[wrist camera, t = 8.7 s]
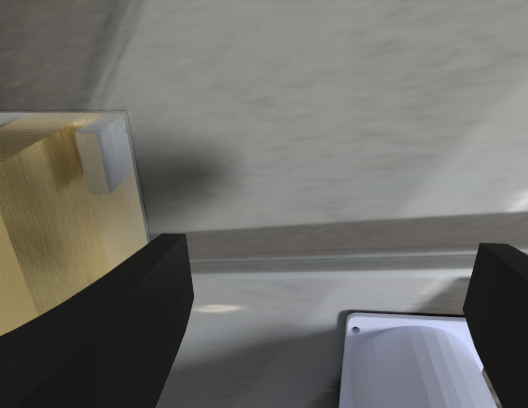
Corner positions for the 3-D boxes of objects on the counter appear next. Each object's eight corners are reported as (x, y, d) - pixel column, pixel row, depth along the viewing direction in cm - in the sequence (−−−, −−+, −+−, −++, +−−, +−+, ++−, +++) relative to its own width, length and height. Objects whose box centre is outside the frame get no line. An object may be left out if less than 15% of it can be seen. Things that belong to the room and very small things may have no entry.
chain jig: (166, 331, 26) (156, 355, 24) (54, 325, 26) (36, 347, 25) (126, 110, 19) (109, 121, 18) (-22, 110, 20) (-52, 121, 18)
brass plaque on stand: (123, 327, 25) (75, 416, 20) (77, 324, 26) (17, 411, 20) (73, 121, 19) (-16, 171, 14) (14, 121, 20) (-95, 170, 14)
